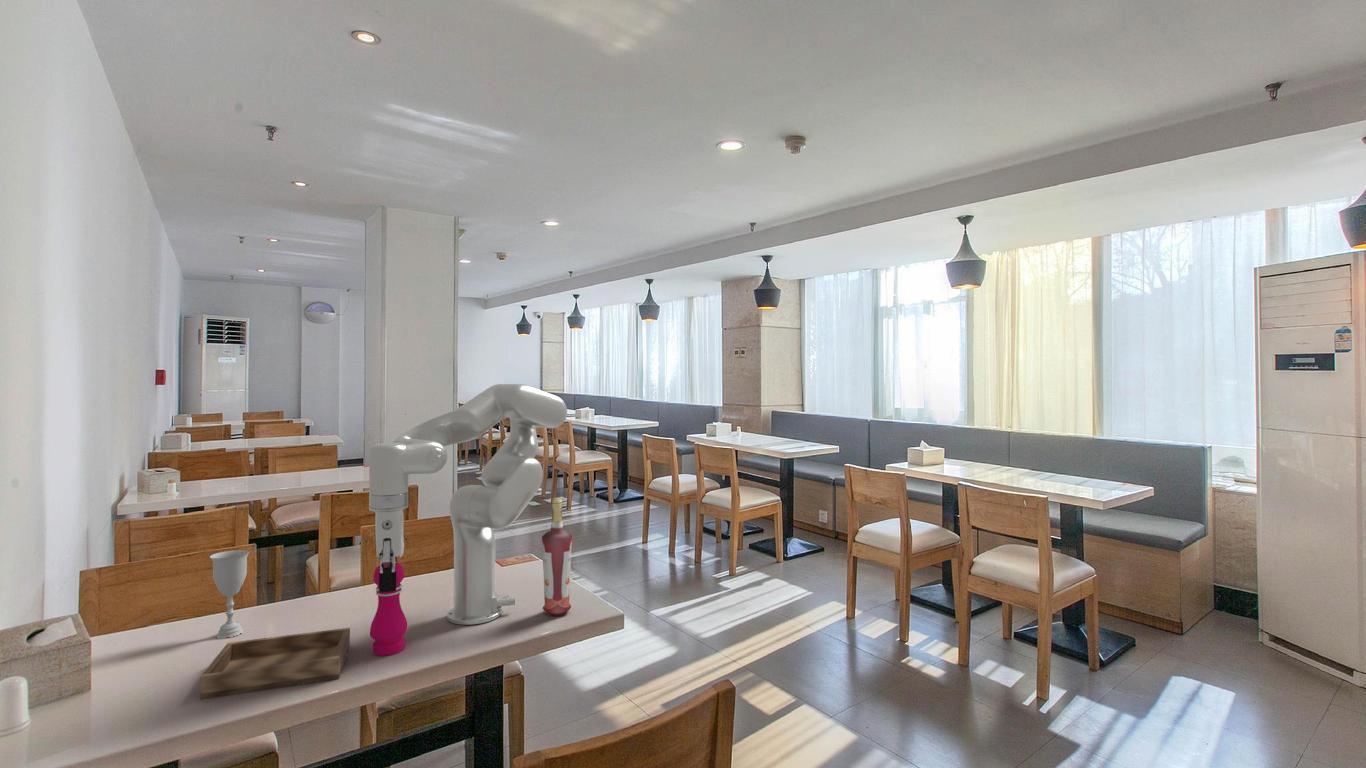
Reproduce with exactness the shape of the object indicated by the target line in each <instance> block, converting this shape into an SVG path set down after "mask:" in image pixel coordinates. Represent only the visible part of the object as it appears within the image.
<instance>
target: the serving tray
mask: <svg viewBox="0 0 1366 768" xmlns="http://www.w3.org/2000/svg"><path fill="white" fill-rule="evenodd" d="M350 638H351V627H343V628H336V629H328V630H327V629H326V630H320V631H312V632H304V633H303V632H302V633H297V634H295V633H294V634H289V635H288V634H287V635H279V636H272V637H271V636H270V637H263V638H255V639H254V638H253V639H247V640H239V641H230V642H229V641H228V642H227V643H226V644H225V646H224V647H223V648H222V649H221V650H220V651H219V653H218V654H217V655H216V657H215V658H214V659H213V661H212V662H211V663H210V664H209V665H208V667H207V668H205V670H204V672H203V673H202V674H201V675H200V677H199V699H200V700H204V699H211V698H213V699H214V698H218V697H226V696H232V695H237V694H239V695H240V694H245V693H251V692H259V691H265V690H271V689H279V688H286V687H293V686H297V684H300V685H304V684H303V683H307V684H313V683H319V682H326V681H334V680H340V676H341V674H342V671H343V668H344V664H345V661H346V659H347V656H348V653H349V650H350V647H351V639H350ZM333 679H334V680H333ZM292 685H293V686H292Z"/></svg>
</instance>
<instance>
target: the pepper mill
mask: <svg viewBox="0 0 1366 768" xmlns="http://www.w3.org/2000/svg"><path fill="white" fill-rule="evenodd" d="M390 557H392V556H390ZM390 562H392V560H390ZM404 569H405V568H404V567H403V566H402V564H401V563H399V562H395V571H396V591H392V592H383V593H380V592H379V573H380V565H378V566H377V567H376V568H375V569H374V572H373V575H372V576H373V577H372V579H373V582H374V584H375V585H376V588H375V595H376V596H377V600H378V602H377V609H376V611H375V615H374V617H373V619H372V622H371V624H370V628H369V635H370V637H371V639H372V640H373V643H372V654H374V655H375V656H377V657H378V656H380V657H384V656H385V657H386V656H392V655H396V654H398V653H400V652H402V651H404V649H405V648H406V639H405V637H404V636H405V634H406V633H407V631H408V627H409V626H408V621H407V620H408V619H407V617H406V615H405V613H404V611H403V609H402V605H401V600H400V595H401V594H400V593H402V591H403V589H402V587H403V585H402V584H401V583H402V581H403V580H404V577H405V570H404Z"/></svg>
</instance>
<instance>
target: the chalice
mask: <svg viewBox="0 0 1366 768" xmlns="http://www.w3.org/2000/svg"><path fill="white" fill-rule="evenodd" d="M249 554H250V550H246V549H236V550H227V551H226V550H225V551H221V552H218V553H217V552H216V553H214V554H211V555H210V556H209V558H210V559H211V561H212V579H213V582H214V583H215V586H216V588H217V589H218V591H219V592H220V594H221V595H222V596H225V597H226V599H227V600H226V604H225V606H226V607H227V610H226V612H225V613H224V614H225V615H226V617H227V619H226V621H225V622H224V623H223V624H222V625H221V626H220V627H219V630H218V632H217V634H216V636H218V637H219V638H218V639H220V638H224V639H227V638H226V637H231V638H233V637H232V636H235V637H237V636H236V635H238V636H240V635H239V634H240V633H242V632H243V631H244V629H243V627H242V626H241V624H240V623H239V622H238V621H235V619H234V614H235V613H236V611H235V609H234V605H235V602H234V600H233V599H234V596H235V595H236V594H238V593H239V591H240V589H241V588H242V586H243V584H244V582H245V580H246V577H247V574H248V570H247V569H248V564H247V563H248V562H247V561H248V560H247V559H248V556H249ZM243 633H244V632H243ZM243 633H242V634H243Z"/></svg>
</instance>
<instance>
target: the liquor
mask: <svg viewBox="0 0 1366 768" xmlns="http://www.w3.org/2000/svg"><path fill="white" fill-rule="evenodd" d="M562 509H563V498H562V497H561V498H560V497H555V498H554V497H553V498H551V510H552V515H551V525H550V530H549V531H547V532H545V533H544V534H543V535H542V536H541V546H542V547H541V549H542V551H541V552H542V568H543V569H542V570H543V590H544V591H543V593H544V605H543V606H542V610H543V611H544V612H545V613H546V614H547V615H549V616H551V617H559V616H563V615H565V614H567V612H569V610H570V609H571V608H572V605H571V603H570V592H571V591H570V589H571V568H572V567H571V566H572V565H571V564H572V545H573V544H572V543H573V534H571V533H570V532H569V531H567V530H565V529H564V525H563V524H564V523H563V514H562V511H563V510H562Z"/></svg>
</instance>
